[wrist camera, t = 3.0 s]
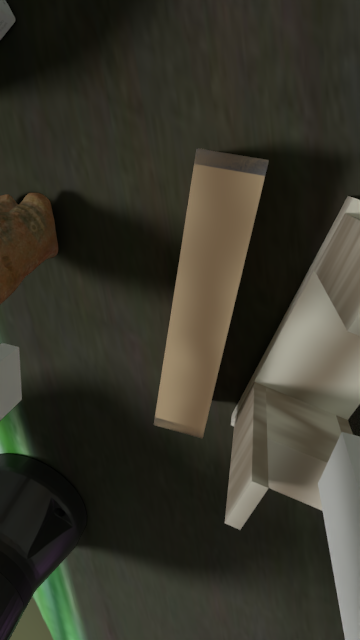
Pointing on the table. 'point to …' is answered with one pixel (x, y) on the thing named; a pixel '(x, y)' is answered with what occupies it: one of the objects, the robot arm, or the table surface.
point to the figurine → (24, 239)
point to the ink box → (5, 18)
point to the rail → (207, 284)
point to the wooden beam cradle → (302, 382)
